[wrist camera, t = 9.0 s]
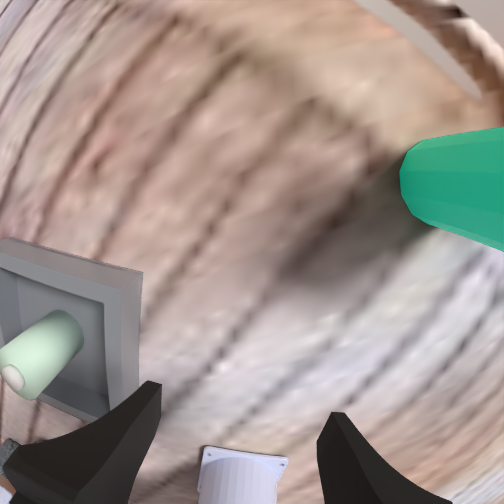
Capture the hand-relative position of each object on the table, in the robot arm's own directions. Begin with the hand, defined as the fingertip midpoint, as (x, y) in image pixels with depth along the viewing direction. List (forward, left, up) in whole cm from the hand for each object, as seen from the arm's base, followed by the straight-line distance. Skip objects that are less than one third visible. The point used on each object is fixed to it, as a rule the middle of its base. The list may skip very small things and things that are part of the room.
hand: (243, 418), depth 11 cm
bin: (-5, +15, -9) cm, 18 cm away
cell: (-5, +15, -9) cm, 18 cm away
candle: (+12, -10, -10) cm, 19 cm away
